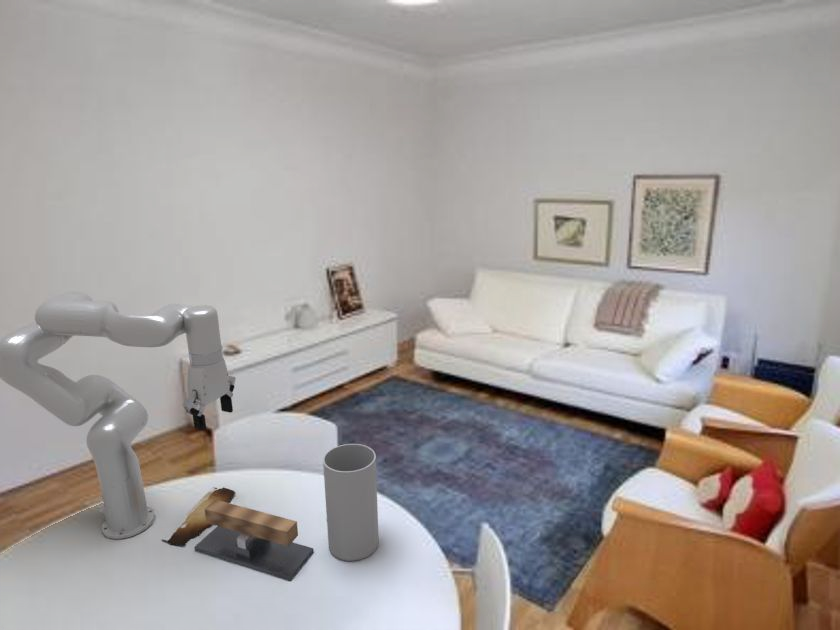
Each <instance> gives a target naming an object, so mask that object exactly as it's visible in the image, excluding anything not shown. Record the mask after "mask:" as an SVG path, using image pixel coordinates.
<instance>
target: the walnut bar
mask: <svg viewBox="0 0 840 630" xmlns="http://www.w3.org/2000/svg"><path fill="white" fill-rule="evenodd" d="M205 515H206V522H207V523H209V524H212V525H214V526H216V527H217V526H220V527H223V528H227V529H230V530H234V531H237V532H241V533H244V534H248V535H251V536H254V537H258V538H261V539H265V540H268V541H272V542H275V543H279V544H282V545H286V546H289V545H290V544H291V543H292V542H293V543H294V541H295V540H296V538H297V537H298V536H299V532H298V530H299V529H298V521H296V520H293V519H288V518H285V517H282V516H278V515H274V514H271V513H267V512H263V511H259V510H256V509H252V508H249V507H245V506H241V505H237V504H234V503H230V502H229V503H227V502H223V501H219V500H215V501H214V502H212V503H211V504H210V505H209V506H208V507H206V508H205Z"/></svg>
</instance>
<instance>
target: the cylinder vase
mask: <svg viewBox="0 0 840 630" xmlns="http://www.w3.org/2000/svg"><path fill="white" fill-rule="evenodd" d="M322 467H323V468H322V469H323V480H324V481H323V482H324V495H325V498H324V499H325V510H326V512H325V513H326V526H327V539H328V540H327V541H328V548H329V551H330V553H331V554H332V555H333V556H334V557H336V558H337V559H339V560H342V561H349V562H352V561H354V562H355V561H360V560H363V559H365V558H368V557H369V556H370V555H371V554H372V553H375V551H376V550H377V547H378V545H379V519H378V517H379V512H378V510H379V509H378V486H377V485H378V484H377V482H378V481H377V480H378V479H377V457H376V453H375V451H374V449H373V448H372V447H370V446H368V445H365V444H360V443H345V444H342V445H337V446H334V447H332V448H331V449H329V450H328V451H326V453H325V454H324V455H323V458H322Z"/></svg>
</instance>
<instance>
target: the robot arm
mask: <svg viewBox="0 0 840 630" xmlns="http://www.w3.org/2000/svg"><path fill="white" fill-rule="evenodd" d="M220 332H221V331H220V324H219V315H218V311H217V309H216V308H215V307H214V306H212V305H195V306H192V305H185V304H179V303H170V304H167V305H164V306H163V307H161V308H160V309H158V310H156V311H155V312H153V313H151V314H150V315H132V314H123V313H120V311H119V309H118V306H117V305H116V304H115V303H113V302H111V301H105V300H93V299H92V297H91V296H90V295H89V294H86V293H84V292H81V291H68V292H64V293H62V294H59V295H57V296H55V297H53V298H51V299H48V300H46V301H44V302H43V303H41V304H40V305H39V306H38V308H37V309H36V311H35V314H34V321H33V322H31V323H29V324H27V325H24V326H22V327H20V328H17V329H15V330H13V331H11V332H9V333H8V334H6V335H4V336H3V337H1V338H0V379H1V380H2V381H3V382H4V383H5V384H7V385H8V386H10V387H12V388H13V389H16V390H17V391H20V392H21V393H23V394H24V395H25V396H27V397H29V398H30V399H31V400H33V401H34V402H36V404H38V405H39V406H41V408H43V409H45V410H46V411H47V412H49V413H50V414H51V415H53V416H54V417H55V418H57V419H58V420H60V421H61V422H63V423H64V424H66V425H67V426H70V427H81V426H82V425H85V424H86V423H88V422H89V421H90V420H92V419H93V418H95V416H96V415H98V414H100V415H101V417H100V418H99V419H98V420H97V421H95V423H93V424H92V425H91V427H90V428H89V430H88V432H87V434H86V441H85V442H86V446H87V448H88V451H89V453H90V455H91V457H92V459H93V462H94V466H95V469H96V473H97V478H98V482H99V488H100V491H101V492H100V493H101V497H102V502H103V505H102V507H100V509H99V511H98V512H99V514H102V515H104V518H105V520H104V521H103V523H102V525H101V531H102V534H103V536H105V537H106V538H108V539H113V540H121V539H126V538H132V537H133V536H136V535H138V534H140V533H142V532H144V531H145V530H147V529H149V527H151V526H152V525H153V523H154V522H155V518H156V512H155V509H154V508H152V507H150V506H148V505H147V499H146V494H145V488H144V483H143V478H142V472H141V467H140V461H139V457H138V456H137V454H136V452H135V451H134V450H133V448H132V442H133V441H134V439H136V437H137V436H138V435H139V434H140V433H141V432H142V431H143V430H144V429H145V427H146V425H147V423H148V421H149V414H148V412H147V409H146V408H145V407H144V405H143V404H142V403H141V402H139V401H138V400H137V398H134V397H133V396H132V395H131V394H129V393H128V392H127V391H126V390H124V389H123V388H121V386H119V385H118V384H117V383H115V382H114V381H112V380H111V379H110V378H108V377H105V376H103V375H102V376H101V375H99V374H90V375H86V376H83V377H82V378H80V379H78V380H77V381H74V380H73V379H71V378H69V377H68V376H67V375H65V374H64V373H63V372H61V371H60V370H58V369H56V368H54V367H52V366H49V365H44V364H42V363H39V360H40V359H42V358H44V357H45V356H48V355H49V354H51V353H53V352H54V351H56V350H58V349H60V348H61V347H62V346H63V345H64V344H66V343H67V342H68V341H69V340H70V339H71V338H73V337H74V336H75V337H77V336H78V337H96V338H97V337H98V338H107V339H108V340H109V341H111V342H114V343H116V344H119V345H122V346H127V347H135V348H159V347H164V346H167V345H169V344H170V343H172V342H173V341H175V339H176V338H178V337H180V336H182V335H184V334H185V335H186V336H185V337H186V343H187V350H188V357H189V365H188V366H187V371H186V372H187V373H186V383H187V384H186V386H187V398H186V399H185V400H184V401H183V402H182V407H183V408H184V409H185V411H186V412H187V413H189V415H191V416H192V419H193V420H192V421H193V428H194V429H197V430H201V431H205V430H206V429H207V423H206V416H205V414H204V411H205V408H206V406H208V405H210V404H211V403H213V402H215V401H216V400H218V399H219V400H220V402H219V403H220V409H221V410H220V411H222V412H224V413H225V412H226V413H232V412H233V411H234V409H233V400H232V399H233V395H234V393H233V392H234V389H235V383H236V377H235V376H231V375H229V371H228V367H227V364H226V360H225V357H223V356H224V355H223V346H222V340H221V333H220ZM198 406H199V408H198ZM197 408H198V409H197Z"/></svg>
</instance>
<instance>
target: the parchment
mask: <svg viewBox="0 0 840 630" xmlns="http://www.w3.org/2000/svg"><path fill="white" fill-rule="evenodd" d="M212 489H214V490H213V491H211V492H212V493H211V492H207V493H205V494H204V496H202V498H201V499H199V500H198V502H196V504H194V505H193V507H192V508H191V509H190V510H189V511H187V513H186V517H185V520H184V522H181V525H180V527H177V529H176V530H175V532H173V533H172V535H171V536H170V537H169V539H167V540H166V539H161V540H162V541H163V542H166V543H167V544H170V545H171V546H172V545H173V546H179V547H184V548H185V547H186V546H187V543H189V542H190V541H191V540H194V539H196V538H197V537H200V536H201V534H203V532H204V531H206V530H207V529H209V528H211V526H212V525H213V524H209V523H207V522H206V515H205V508H206V507H208V506H209V505H210V504H211V503H212V502H214V501H215V500H219V501H223V502H227V503H230V501H232V499H233V498H234V496H235V495H236V491H234V490H233V489H230V488H226V487H224V486H222V488H219V489H218V487H212ZM184 525H185V527H183V526H184Z"/></svg>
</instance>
